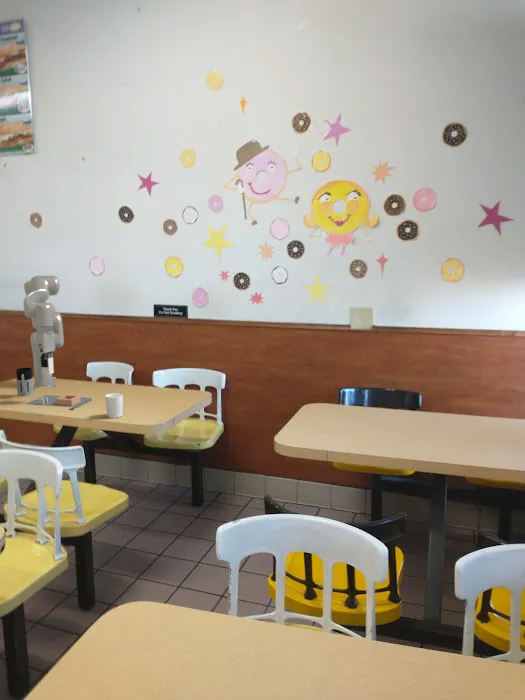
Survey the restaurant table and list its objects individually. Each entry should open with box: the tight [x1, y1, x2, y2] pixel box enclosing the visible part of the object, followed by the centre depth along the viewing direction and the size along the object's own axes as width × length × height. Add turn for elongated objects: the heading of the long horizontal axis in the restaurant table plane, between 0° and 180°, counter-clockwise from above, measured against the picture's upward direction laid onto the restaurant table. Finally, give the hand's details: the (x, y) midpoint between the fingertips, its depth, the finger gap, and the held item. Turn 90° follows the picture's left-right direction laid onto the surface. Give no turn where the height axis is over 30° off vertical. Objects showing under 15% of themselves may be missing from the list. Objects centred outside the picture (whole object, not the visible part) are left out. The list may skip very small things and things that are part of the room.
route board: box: [25, 394, 92, 411], centre depth 274 cm, size 18×26×4 cm
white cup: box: [104, 392, 124, 419], centre depth 254 cm, size 8×8×10 cm
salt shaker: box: [41, 353, 55, 375], centre depth 269 cm, size 4×4×10 cm
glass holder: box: [15, 367, 35, 397], centre depth 284 cm, size 9×14×15 cm, turn 18°
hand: (47, 365), depth 269 cm, fingers closed on salt shaker, 4 cm apart
